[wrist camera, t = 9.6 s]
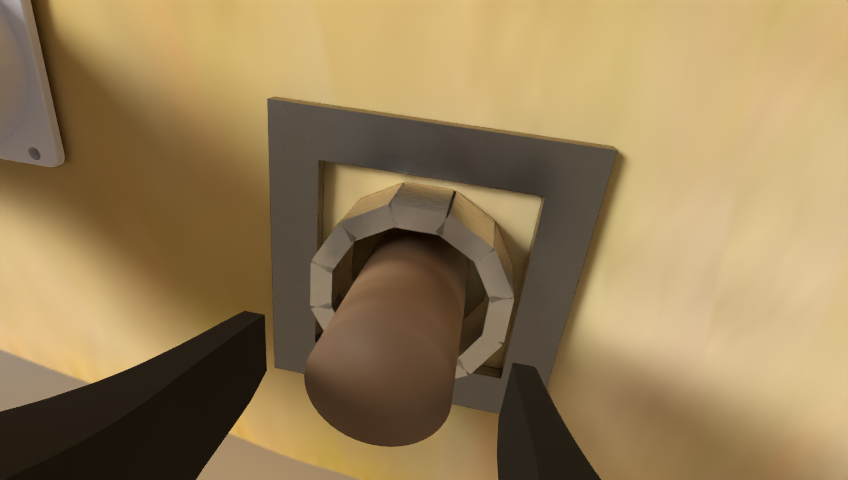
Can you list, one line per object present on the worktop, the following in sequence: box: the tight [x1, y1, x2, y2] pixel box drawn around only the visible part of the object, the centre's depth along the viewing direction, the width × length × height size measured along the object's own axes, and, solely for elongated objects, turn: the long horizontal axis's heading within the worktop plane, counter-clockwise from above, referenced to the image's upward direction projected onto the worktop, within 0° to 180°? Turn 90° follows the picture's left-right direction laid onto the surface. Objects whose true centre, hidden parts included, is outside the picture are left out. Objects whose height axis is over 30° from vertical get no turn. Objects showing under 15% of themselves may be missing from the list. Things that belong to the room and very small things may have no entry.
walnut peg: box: [304, 228, 469, 447], centre depth 15 cm, size 4×4×7 cm
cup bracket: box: [267, 97, 617, 414], centre depth 17 cm, size 12×12×2 cm
